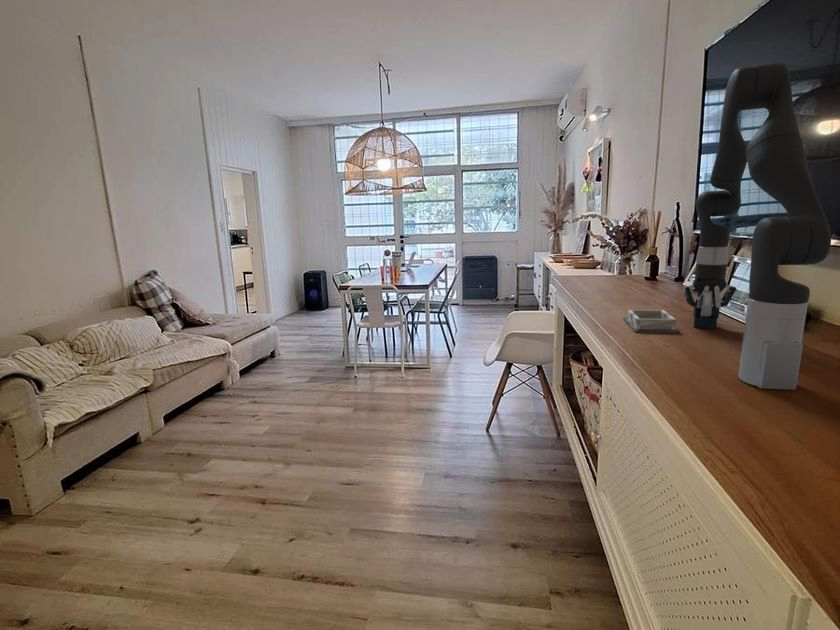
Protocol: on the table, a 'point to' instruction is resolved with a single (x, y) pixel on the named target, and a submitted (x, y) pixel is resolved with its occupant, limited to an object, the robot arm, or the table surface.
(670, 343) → the table surface
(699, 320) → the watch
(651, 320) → the holder
